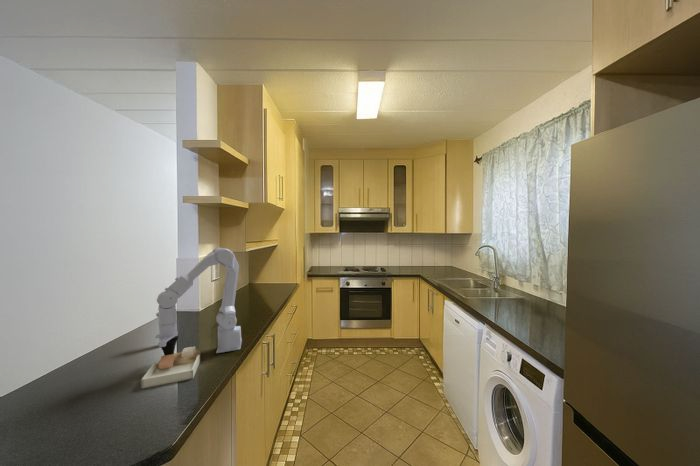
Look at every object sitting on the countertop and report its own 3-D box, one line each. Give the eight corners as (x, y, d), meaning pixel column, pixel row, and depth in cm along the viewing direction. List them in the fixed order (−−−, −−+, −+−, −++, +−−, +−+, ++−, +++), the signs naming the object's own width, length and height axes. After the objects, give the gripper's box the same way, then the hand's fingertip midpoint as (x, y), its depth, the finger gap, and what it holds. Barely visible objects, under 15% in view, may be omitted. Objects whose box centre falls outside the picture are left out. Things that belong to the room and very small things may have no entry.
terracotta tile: (174, 357, 100) (173, 353, 99) (172, 366, 97) (171, 363, 96) (162, 359, 99) (161, 356, 98) (159, 369, 95) (158, 365, 94)
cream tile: (195, 351, 106) (195, 346, 106) (193, 355, 103) (193, 350, 103) (184, 353, 105) (184, 348, 105) (181, 357, 101) (181, 352, 101)
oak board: (200, 354, 108) (200, 348, 108) (197, 362, 102) (196, 356, 102) (163, 361, 104) (163, 355, 104) (157, 369, 97) (157, 363, 97)
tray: (200, 362, 102) (199, 354, 102) (193, 378, 91) (192, 370, 91) (154, 370, 97) (154, 362, 97) (141, 388, 86) (140, 380, 86)
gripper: (162, 318, 105) (163, 351, 106) (148, 331, 92) (149, 369, 92) (182, 315, 108) (183, 348, 108) (171, 328, 94) (173, 365, 94)
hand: (169, 357), depth 100 cm, fingers closed
